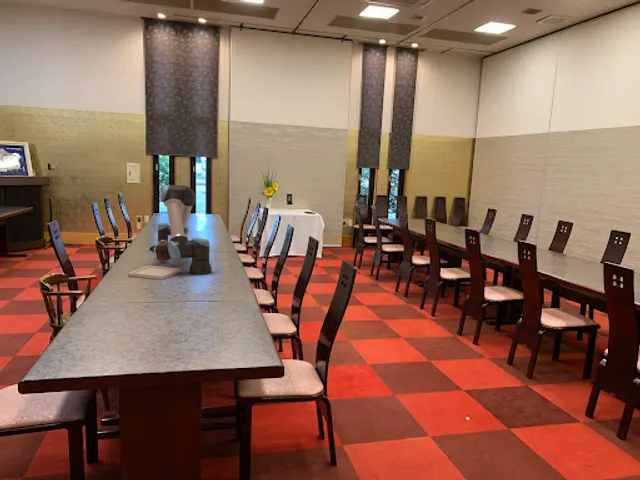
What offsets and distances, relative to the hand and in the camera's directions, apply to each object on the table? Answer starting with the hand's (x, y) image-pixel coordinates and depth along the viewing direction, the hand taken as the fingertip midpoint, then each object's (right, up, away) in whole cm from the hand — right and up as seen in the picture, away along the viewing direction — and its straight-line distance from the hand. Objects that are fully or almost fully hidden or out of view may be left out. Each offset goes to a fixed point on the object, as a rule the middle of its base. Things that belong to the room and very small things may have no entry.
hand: (163, 250), depth 325 cm
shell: (-2, -6, +5) cm, 8 cm away
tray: (-1, -15, -15) cm, 21 cm away
